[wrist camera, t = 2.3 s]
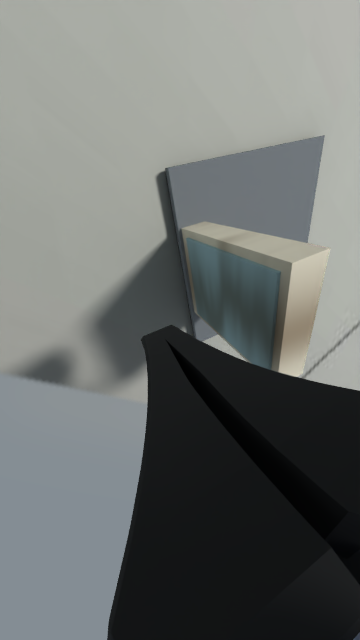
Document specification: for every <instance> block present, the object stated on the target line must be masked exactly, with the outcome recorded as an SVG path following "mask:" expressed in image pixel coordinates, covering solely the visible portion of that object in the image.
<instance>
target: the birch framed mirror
mask: <svg viewBox="0 0 360 640" xmlns="http://www.w3.org/2000/svg"><path fill="white" fill-rule="evenodd" d="M181 229H182V235H183V242H184V248H185V254H186V261H187V267H188V273H189V280H190V286H191V292H192V298H193V305H194V311H195V313H196V314H197V315H198V316H199V317H200V318H201V319H202V320H203V321H204V322H206V323H207V324H208V325H209V326H210V327H211V328H212V329H213V330H214V331H215V332H216V333H217V334H218V335H220V336H221V337H222V338H223V339H224V340H225V341H226V342H227V343H228V344H229V345H230V346H231V347H232V348H233V349H235V350H236V351H237V352H238V353H239V354H240V355H241V356H242V357H243V358H244V359H245V360H246V361H247V362H249V363H252V364H255V365H258V366H260V367H263V368H266V369H269V370H273V371H276V372H279V373H283V374H287V375H291V376H294V377H297V376H299V375H301V374H302V373H303V370H304V365H305V361H306V356H307V352H308V347H309V343H310V338H311V334H312V329H313V324H314V320H315V315H316V311H317V306H318V302H319V297H320V293H321V288H322V284H323V279H324V275H325V270H326V266H327V261H328V257H329V252H330V248H328V247H323V246H319V245H314V244H309V243H304V242H300V241H295V240H290V239H286V238H281V237H276V236H271V235H267V234H262V233H257V232H252V231H248V230H243V229H238V228H234V227H229V226H224V225H219V224H215V223H210V222H201V223H198V224H194V225H191V226H187V227H184V228H181Z"/></svg>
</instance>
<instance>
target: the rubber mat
mask: <svg viewBox="0 0 360 640" xmlns="http://www.w3.org/2000/svg"><path fill="white" fill-rule="evenodd" d="M324 136H325V135H324ZM324 136H319V137H314V138H309V139H305V140H300V141H295V142H290V143H285V144H280V145H275V146H271V147H266V148H261V149H256V150H251V151H246V152H242V153H237V154H232V155H227V156H222V157H217V158H213V159H208V160H203V161H198V162H193V163H188V164H183V165H179V166H174V167H169V168H165V170H166V176H167V181H168V187H169V193H170V199H171V204H172V210H173V216H174V222H175V228H176V233H177V239H178V245H179V251H180V256H181V262H182V268H183V274H184V280H185V285H186V291H187V297H188V303H189V309H190V314H191V320H192V326H193V332H194V337H195V338H196V339H198V340H200V341H204V340H206V339H209V338H211V337H213V336H215V335H217V333H216V332H215V331H214V330H213V329H212V328H211V327H210V326H209V325H208V324H207V323H206V322H204V321H203V320H202V319H201V318H200V317H199V316H198V315H197V314H196V313H195V311H194V305H193V298H192V292H191V286H190V280H189V273H188V267H187V261H186V254H185V248H184V242H183V235H182V229H181V228H184V227H187V226H191V225H194V224H198V223H201V222H210V223H215V224H219V225H224V226H229V227H234V228H238V229H243V230H248V231H252V232H257V233H262V234H267V235H271V236H276V237H281V238H286V239H290V240H295V241H300V242H304V243H307V242H308V236H309V230H310V223H311V217H312V211H313V205H314V198H315V192H316V186H317V179H318V173H319V167H320V161H321V154H322V148H323V142H324Z"/></svg>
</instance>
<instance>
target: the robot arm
mask: <svg viewBox="0 0 360 640" xmlns="http://www.w3.org/2000/svg"><path fill="white" fill-rule="evenodd" d="M141 341H142V344H143V347H144V350H145V354H146V361H147V373H148V408H147V422H146V423H147V424H146V433H145V442H144V450H143V457H142V465H141V471H140V476H139V482H138V488H137V493H136V498H135V504H134V509H133V515H132V520H131V525H130V530H129V535H128V540H127V544H126V548H125V553H124V557H123V561H122V565H121V570H120V574H119V579H118V583H117V587H116V592H115V596H114V600H113V605H112V609H111V614H110V619H109V626H108V639H107V640H360V391H358V390H352V389H347V388H342V387H337V386H332V385H327V384H323V383H318V382H314V381H310V380H306V379H302V378H298V377H294V376H291V375H287V374H283V373H279V372H276V371H273V370H269V369H266V368H263V367H260V366H258V365H255V364H252V363H249V362H246V361H243V360H241V359H238V358H236V357H234V356H231V355H229V354H227V353H224V352H222V351H220V350H218V349H216V348H214V347H212V346H210V345H208V344H206V343H204V342H202V341H200V340H198V339H196V338H194V337H192V336H190V335H189V334H187V333H185V332H183V331H182V330H180V329H178V328H177V327H175V326H173V325H170V326H167V327H165V328H163V329H160V330H158V331H155V332H153V333H150V334H148V335H146V336H143V337H142V339H141Z"/></svg>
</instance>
